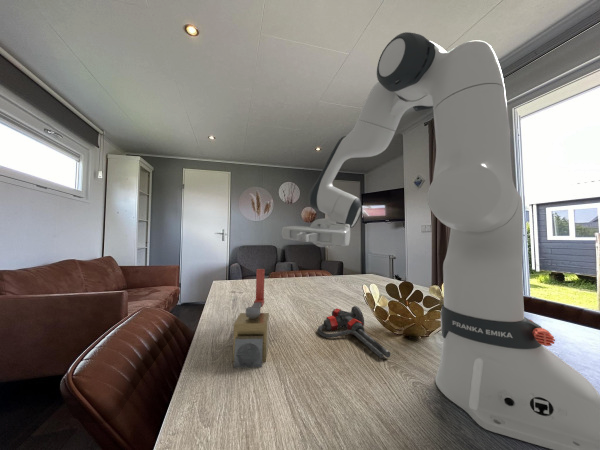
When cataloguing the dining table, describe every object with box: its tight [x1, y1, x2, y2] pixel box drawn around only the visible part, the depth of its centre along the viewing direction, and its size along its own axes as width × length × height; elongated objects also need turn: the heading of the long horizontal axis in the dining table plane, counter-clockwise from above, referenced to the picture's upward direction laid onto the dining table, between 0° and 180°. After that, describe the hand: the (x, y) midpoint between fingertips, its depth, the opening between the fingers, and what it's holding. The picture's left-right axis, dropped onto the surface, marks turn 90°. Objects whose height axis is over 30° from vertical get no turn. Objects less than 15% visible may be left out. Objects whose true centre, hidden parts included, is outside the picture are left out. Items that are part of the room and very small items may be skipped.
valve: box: [317, 305, 391, 359], centre depth 62 cm, size 6×26×15 cm
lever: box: [245, 268, 266, 318], centre depth 57 cm, size 12×3×9 cm, turn 0°
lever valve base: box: [232, 312, 270, 369], centre depth 52 cm, size 11×7×8 cm, turn 4°
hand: (301, 238), depth 59 cm, fingers closed
